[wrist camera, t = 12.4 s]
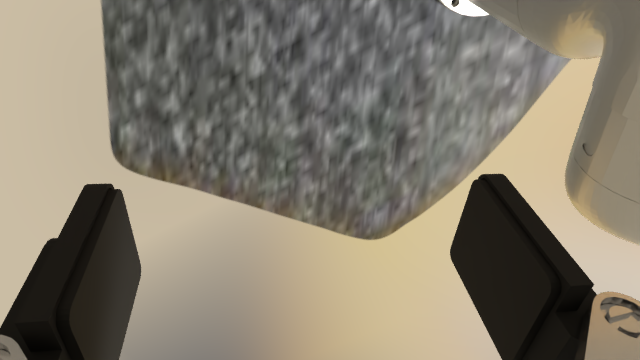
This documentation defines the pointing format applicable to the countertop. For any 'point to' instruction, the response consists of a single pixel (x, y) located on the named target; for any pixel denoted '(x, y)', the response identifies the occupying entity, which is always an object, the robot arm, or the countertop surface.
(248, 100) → the countertop surface
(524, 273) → the robot arm
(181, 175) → the countertop surface
